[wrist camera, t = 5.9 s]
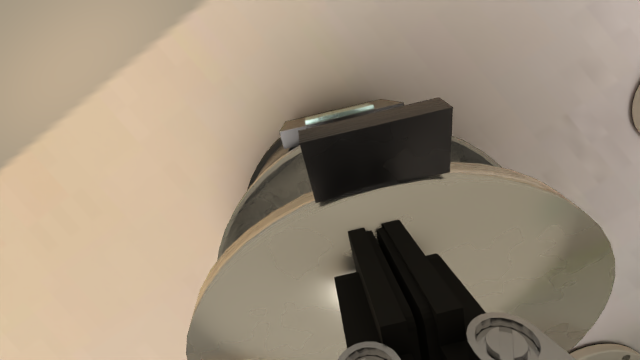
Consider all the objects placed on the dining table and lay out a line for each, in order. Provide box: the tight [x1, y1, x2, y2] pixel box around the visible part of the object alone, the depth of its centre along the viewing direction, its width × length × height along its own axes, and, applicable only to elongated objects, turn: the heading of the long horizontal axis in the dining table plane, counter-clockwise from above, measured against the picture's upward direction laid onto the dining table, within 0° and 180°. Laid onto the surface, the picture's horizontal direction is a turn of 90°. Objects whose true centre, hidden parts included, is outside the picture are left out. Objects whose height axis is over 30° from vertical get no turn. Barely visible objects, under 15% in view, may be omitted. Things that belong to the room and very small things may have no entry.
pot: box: [217, 99, 502, 261], centre depth 23 cm, size 19×22×10 cm
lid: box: [186, 98, 615, 360], centre depth 13 cm, size 18×21×3 cm
